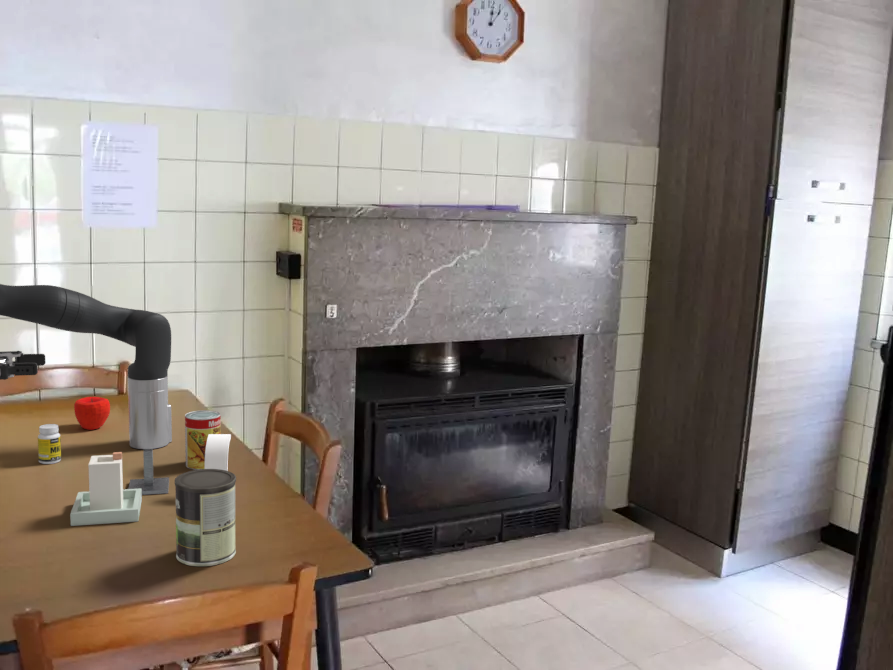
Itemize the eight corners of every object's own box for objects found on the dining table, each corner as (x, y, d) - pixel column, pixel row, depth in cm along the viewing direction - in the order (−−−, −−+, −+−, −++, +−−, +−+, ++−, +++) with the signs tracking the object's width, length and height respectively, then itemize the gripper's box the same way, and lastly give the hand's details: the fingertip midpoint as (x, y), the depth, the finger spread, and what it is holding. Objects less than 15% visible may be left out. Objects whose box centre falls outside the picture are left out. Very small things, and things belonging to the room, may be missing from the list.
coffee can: (169, 567, 147) (168, 488, 144) (182, 542, 157) (181, 468, 155) (231, 567, 148) (230, 488, 145) (240, 542, 158) (240, 468, 156)
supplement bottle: (52, 465, 196) (51, 429, 195) (34, 463, 197) (32, 427, 196) (65, 459, 201) (64, 424, 200) (47, 457, 202) (46, 422, 200)
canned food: (220, 469, 198) (220, 418, 196) (185, 470, 196) (184, 419, 194) (221, 458, 205) (220, 409, 203) (186, 460, 203) (185, 410, 201)
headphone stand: (231, 488, 186) (231, 434, 184) (227, 498, 180) (227, 442, 178) (209, 488, 185) (208, 434, 183) (204, 498, 179) (204, 442, 177)
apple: (118, 427, 228) (117, 398, 227) (88, 434, 221) (87, 404, 220) (96, 421, 233) (95, 393, 232) (67, 428, 226) (66, 399, 224)
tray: (78, 503, 174) (78, 492, 174) (141, 499, 177) (141, 488, 177) (70, 525, 163) (70, 513, 162) (138, 521, 166) (138, 509, 166)
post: (130, 483, 187) (129, 445, 185) (169, 480, 189) (168, 443, 187) (127, 495, 179) (126, 456, 178) (168, 493, 181) (167, 454, 180)
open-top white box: (93, 504, 172) (91, 449, 170) (124, 502, 173) (122, 448, 171) (90, 514, 166) (88, 458, 164) (122, 512, 168) (120, 457, 166)
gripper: (-69, 353, 150) (33, 351, 155) (-47, 339, 164) (46, 337, 168) (-66, 395, 151) (35, 392, 156) (-45, 377, 165) (48, 375, 169)
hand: (41, 364), depth 162 cm, fingers open, 8 cm apart
